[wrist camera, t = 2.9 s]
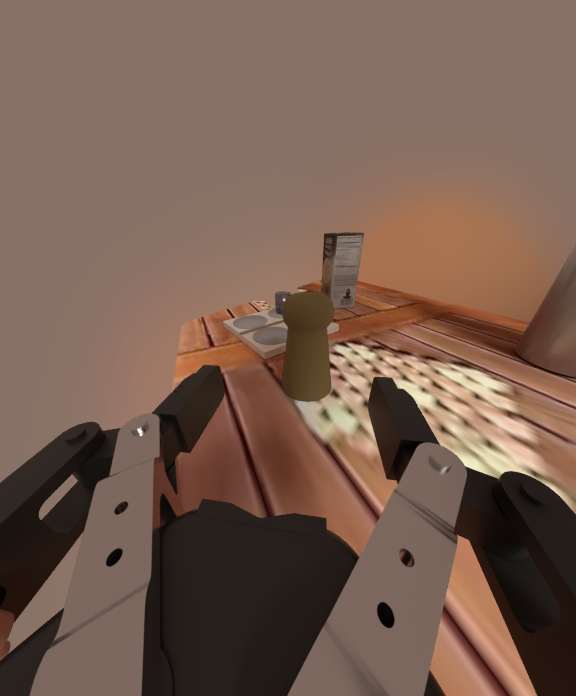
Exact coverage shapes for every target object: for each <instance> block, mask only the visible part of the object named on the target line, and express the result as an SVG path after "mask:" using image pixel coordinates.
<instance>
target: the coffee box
mask: <svg viewBox="0 0 576 696" xmlns="http://www.w3.org/2000/svg"><path fill="white" fill-rule="evenodd" d="M363 237H364V233H327V234H324V251H323V269H322V288H321V293H322V294H325V295H327V296H328V297H329V298H331V300H332V302H333V306H334V309H335V308H349V307H354V301H355V294H356V287H357V279H358V273H359V265H360V258H361V251H362V244H363Z"/></svg>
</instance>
